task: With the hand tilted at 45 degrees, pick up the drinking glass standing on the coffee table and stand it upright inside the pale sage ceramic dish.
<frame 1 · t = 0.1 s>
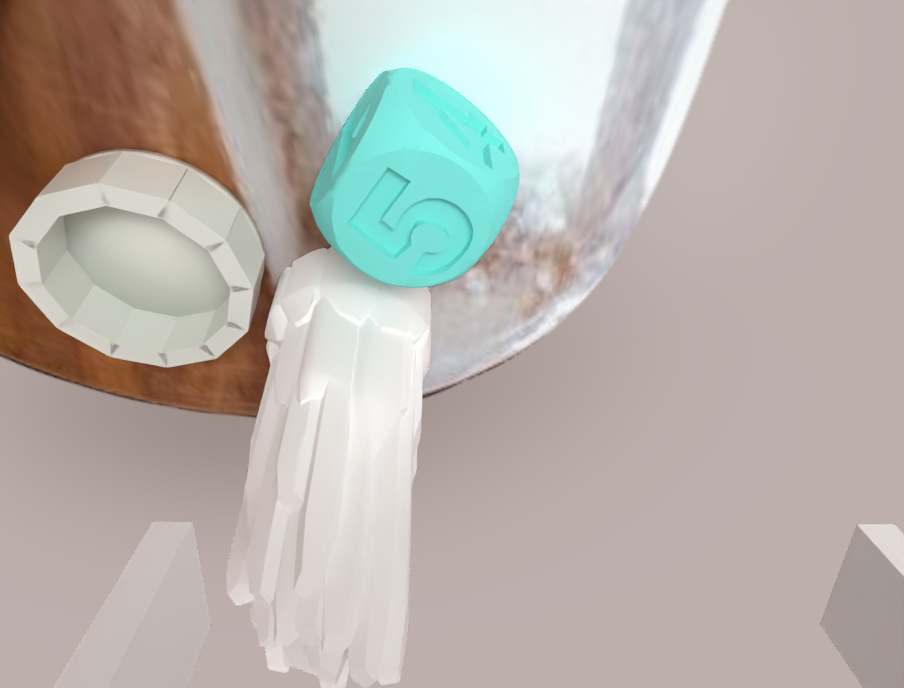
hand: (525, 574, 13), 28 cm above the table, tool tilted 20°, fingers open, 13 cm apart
dish: (159, 244, 40), on the table
decorative dice: (415, 145, 36), on the table
decorative vase: (355, 306, 44), on the table
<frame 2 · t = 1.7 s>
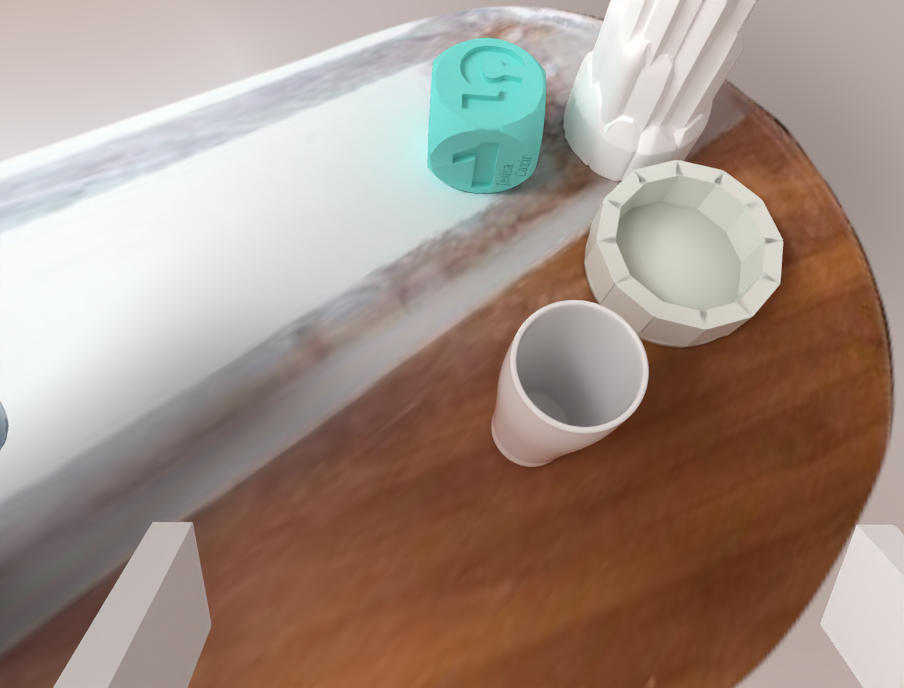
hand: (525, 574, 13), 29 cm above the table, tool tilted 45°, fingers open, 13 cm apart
dish: (667, 267, 49), on the table
decorative dice: (478, 153, 52), on the table
decorative vase: (625, 130, 53), on the table
drinking glass: (527, 430, 44), on the table
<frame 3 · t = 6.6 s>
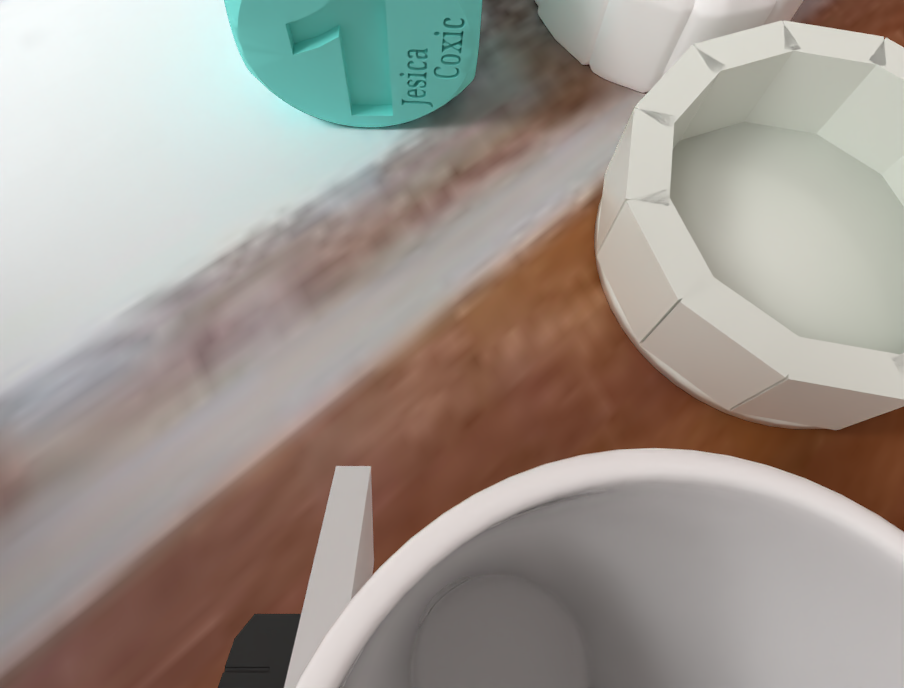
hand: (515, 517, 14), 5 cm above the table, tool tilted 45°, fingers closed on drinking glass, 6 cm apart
dish: (769, 255, 23), on the table
decorative dice: (371, 55, 26), on the table
decorative vase: (653, 0, 28), on the table
drinking glass: (493, 660, 18), on the table, touching gripper
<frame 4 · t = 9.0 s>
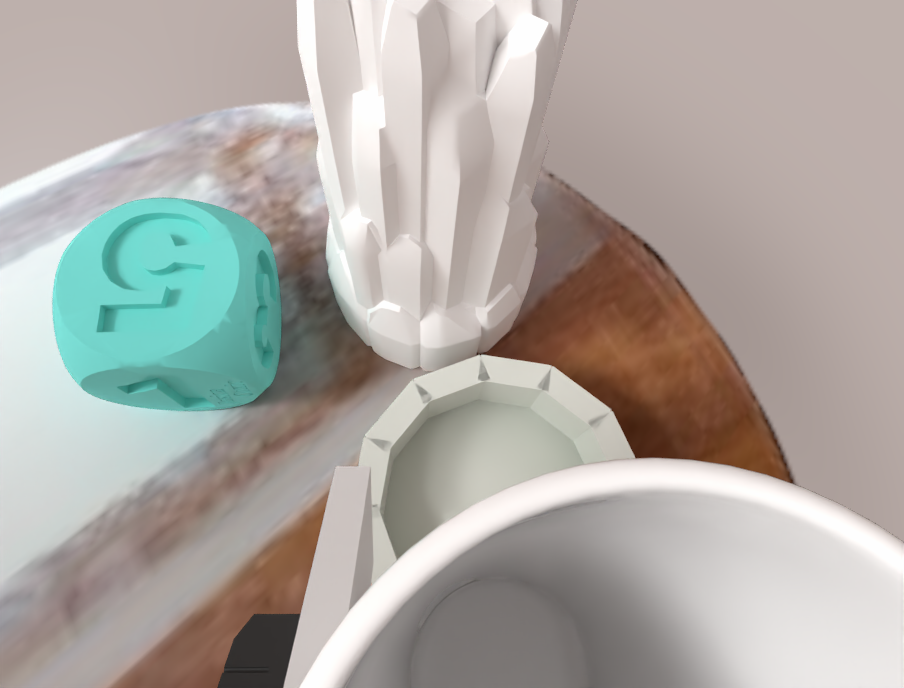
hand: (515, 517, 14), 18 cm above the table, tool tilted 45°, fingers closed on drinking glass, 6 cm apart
dish: (489, 505, 32), on the table
decorative dice: (208, 341, 35), on the table
decorative vase: (429, 281, 37), on the table
drinking glass: (493, 664, 18), point 13 cm above the table, touching gripper
when the fingers open (7 cm above the table, at t = 11.6 s): drinking glass drops 1 cm, resting on dish.
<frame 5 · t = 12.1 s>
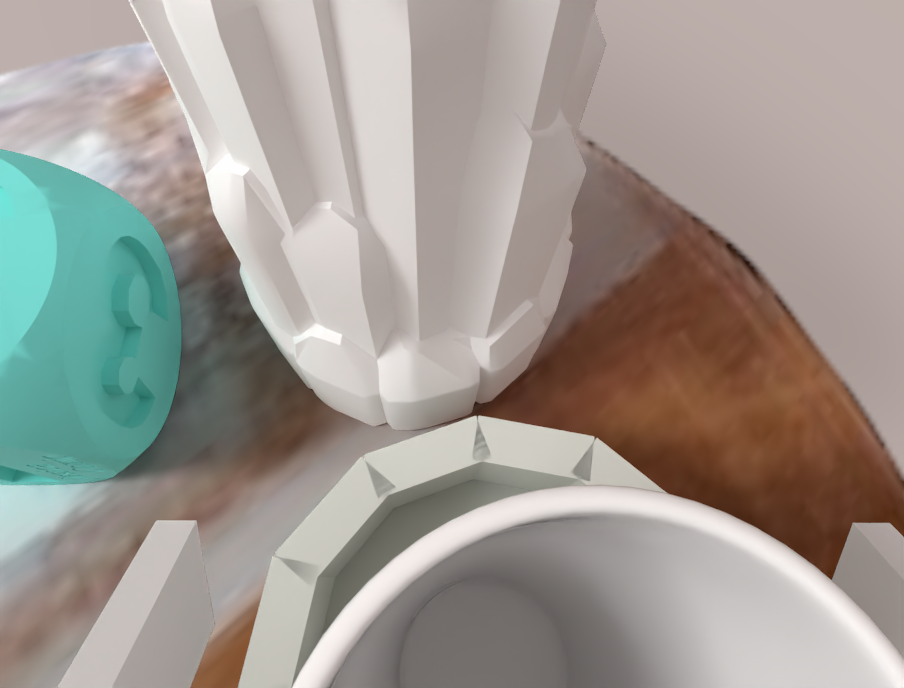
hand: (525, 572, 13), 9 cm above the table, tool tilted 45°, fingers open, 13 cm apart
dish: (488, 654, 20), on the table
decorative dice: (71, 375, 23), on the table
decorative vase: (408, 292, 25), on the table
drinking glass: (478, 660, 19), point 1 cm above the table, touching dish
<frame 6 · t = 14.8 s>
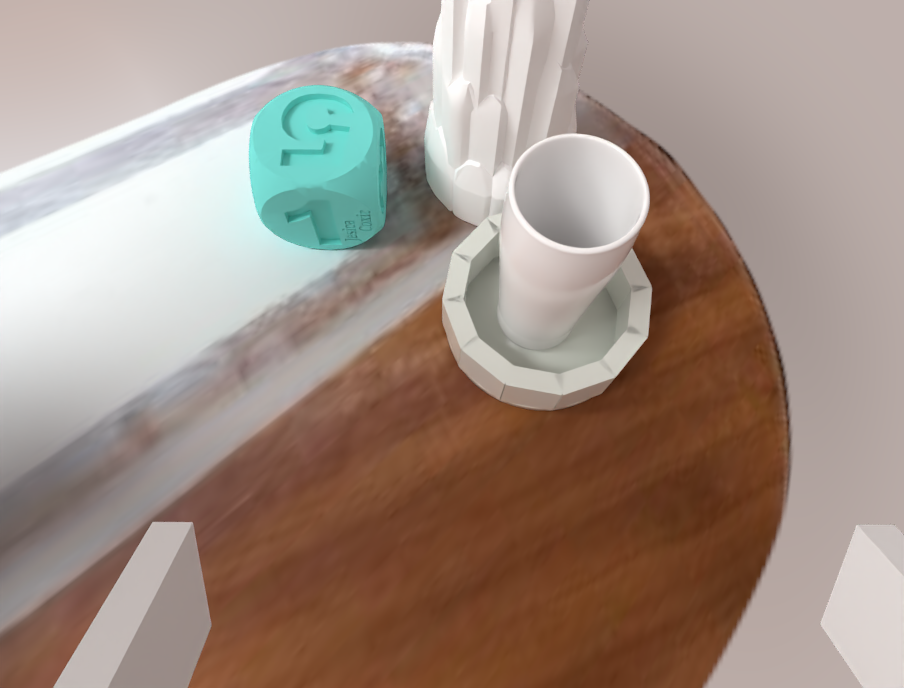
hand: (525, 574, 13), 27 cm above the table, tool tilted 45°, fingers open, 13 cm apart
dish: (538, 320, 44), on the table
decorative dice: (333, 205, 48), on the table
decorative vase: (495, 169, 49), on the table
drinking glass: (534, 318, 44), point 1 cm above the table, touching dish
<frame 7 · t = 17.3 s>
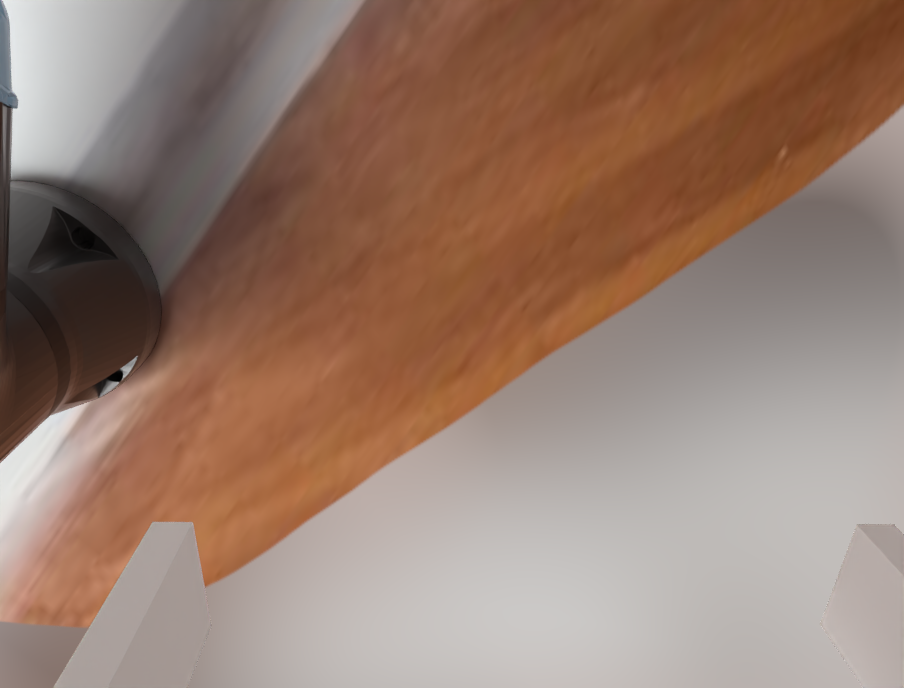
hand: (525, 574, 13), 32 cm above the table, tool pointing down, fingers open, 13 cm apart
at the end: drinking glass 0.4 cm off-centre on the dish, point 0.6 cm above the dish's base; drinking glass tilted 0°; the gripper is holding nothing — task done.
